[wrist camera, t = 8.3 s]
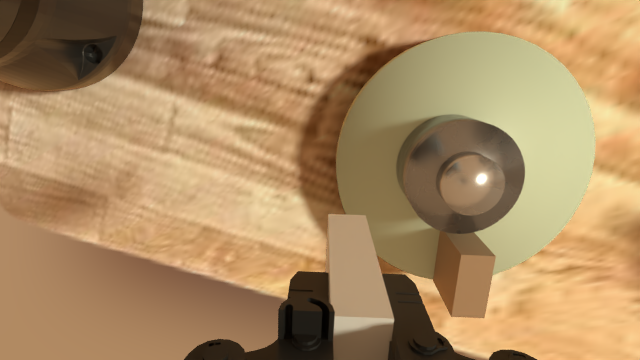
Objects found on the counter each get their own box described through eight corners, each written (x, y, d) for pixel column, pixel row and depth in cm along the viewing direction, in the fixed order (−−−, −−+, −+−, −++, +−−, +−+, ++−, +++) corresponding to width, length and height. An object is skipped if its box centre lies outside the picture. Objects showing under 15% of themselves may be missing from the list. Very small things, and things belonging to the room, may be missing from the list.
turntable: (330, 264, 35) (331, 311, 28) (342, 28, 29) (347, 16, 22) (550, 274, 35) (604, 323, 28) (605, 39, 29) (690, 30, 22)
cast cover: (389, 208, 31) (402, 237, 26) (404, 109, 29) (422, 118, 23) (486, 217, 31) (519, 248, 26) (509, 119, 29) (551, 131, 24)
